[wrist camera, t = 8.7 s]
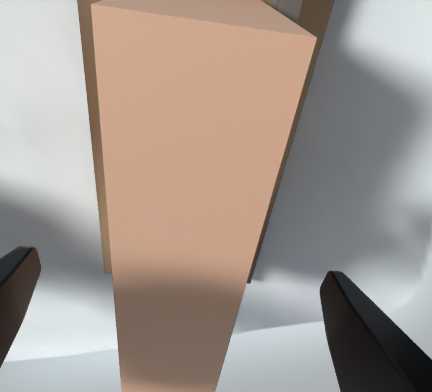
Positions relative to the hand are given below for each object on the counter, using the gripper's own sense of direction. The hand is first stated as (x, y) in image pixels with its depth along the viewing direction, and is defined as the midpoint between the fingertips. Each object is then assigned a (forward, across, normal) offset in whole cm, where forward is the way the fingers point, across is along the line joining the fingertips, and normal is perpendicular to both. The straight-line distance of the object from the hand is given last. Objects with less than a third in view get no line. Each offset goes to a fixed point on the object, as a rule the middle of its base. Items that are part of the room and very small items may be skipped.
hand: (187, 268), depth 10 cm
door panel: (+8, 0, 0) cm, 8 cm away
